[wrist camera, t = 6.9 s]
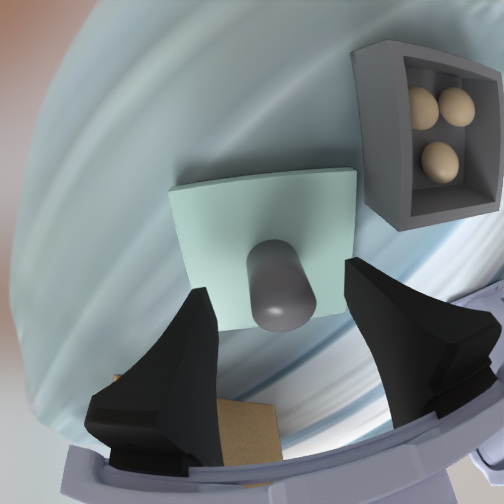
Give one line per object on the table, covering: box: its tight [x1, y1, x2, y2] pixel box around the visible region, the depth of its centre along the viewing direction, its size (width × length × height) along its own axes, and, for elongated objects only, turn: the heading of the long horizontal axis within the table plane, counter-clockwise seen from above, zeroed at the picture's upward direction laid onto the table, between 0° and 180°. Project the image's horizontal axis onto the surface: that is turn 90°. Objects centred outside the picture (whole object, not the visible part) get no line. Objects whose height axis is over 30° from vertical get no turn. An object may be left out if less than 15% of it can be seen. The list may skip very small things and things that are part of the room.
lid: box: [168, 167, 357, 332], centre depth 13 cm, size 9×9×5 cm
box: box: [350, 40, 504, 232], centre depth 10 cm, size 8×8×4 cm
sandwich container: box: [114, 375, 283, 488], centre depth 16 cm, size 9×15×15 cm, turn 69°
